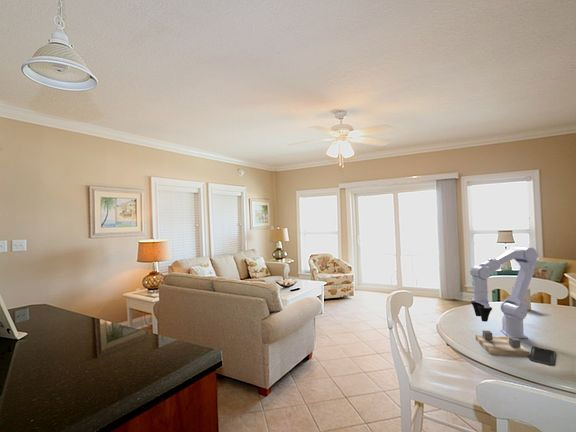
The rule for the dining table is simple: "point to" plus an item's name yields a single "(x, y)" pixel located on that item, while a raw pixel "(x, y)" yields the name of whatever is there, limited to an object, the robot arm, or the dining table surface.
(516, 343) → the switch tab
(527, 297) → the supplement box
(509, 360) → the dining table surface
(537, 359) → the phone
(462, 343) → the dining table surface
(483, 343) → the switch board
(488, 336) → the switch tab
